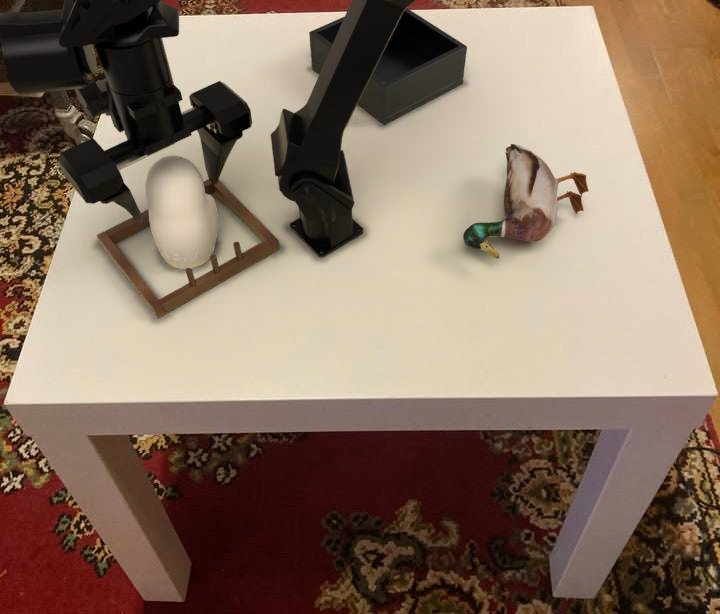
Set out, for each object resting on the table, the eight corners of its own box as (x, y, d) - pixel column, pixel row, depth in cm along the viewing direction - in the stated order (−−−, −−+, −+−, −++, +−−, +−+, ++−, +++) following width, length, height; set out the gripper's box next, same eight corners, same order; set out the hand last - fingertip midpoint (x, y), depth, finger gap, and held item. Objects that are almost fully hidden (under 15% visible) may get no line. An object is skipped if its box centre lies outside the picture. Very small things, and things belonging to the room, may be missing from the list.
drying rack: (280, 249, 83) (276, 225, 80) (158, 318, 77) (149, 296, 74) (217, 184, 90) (211, 160, 87) (100, 244, 84) (89, 220, 81)
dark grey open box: (462, 84, 102) (467, 46, 97) (384, 125, 97) (384, 87, 92) (388, 33, 110) (389, -4, 105) (311, 69, 105) (308, 31, 100)
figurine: (226, 225, 86) (208, 146, 76) (212, 273, 81) (191, 196, 72) (168, 221, 86) (143, 142, 77) (151, 269, 82) (122, 192, 72)
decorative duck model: (479, 243, 75) (424, 150, 83) (476, 284, 81) (425, 194, 89) (608, 198, 77) (542, 111, 85) (595, 242, 83) (535, 157, 91)
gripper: (184, 5, 73) (212, 128, 85) (7, 75, 66) (65, 198, 78) (243, 54, 67) (264, 178, 80) (57, 136, 60) (111, 258, 73)
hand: (177, 200), depth 78 cm, fingers open, 9 cm apart
